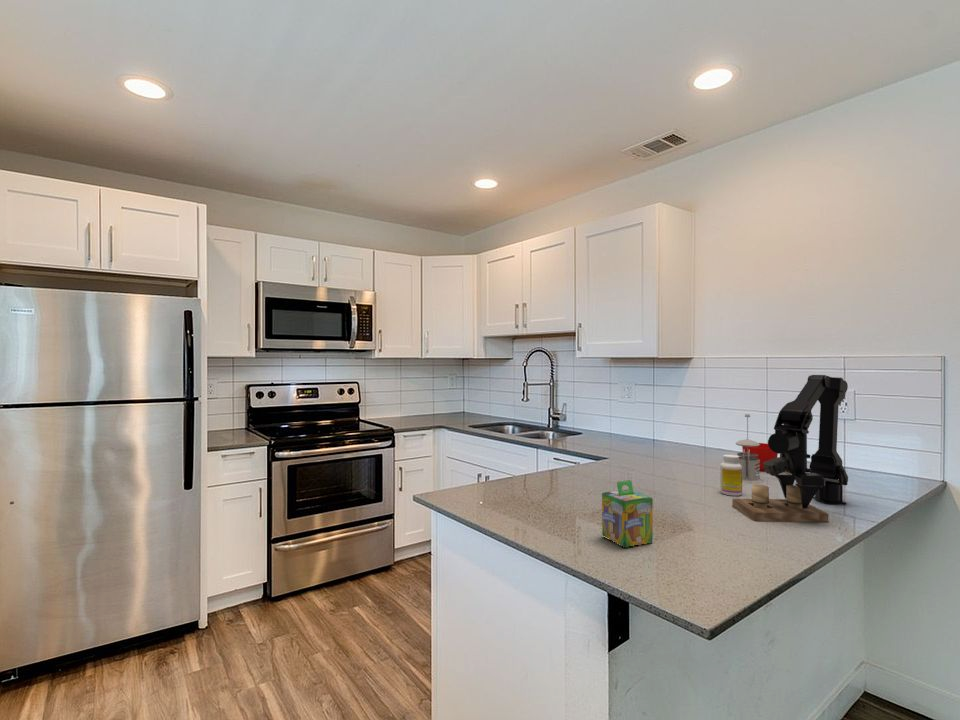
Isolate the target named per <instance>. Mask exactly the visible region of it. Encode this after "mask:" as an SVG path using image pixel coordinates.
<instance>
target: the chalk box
mask: <svg viewBox="0 0 960 720" xmlns="http://www.w3.org/2000/svg"><path fill="white" fill-rule="evenodd" d="M616 483H617V484H616V486H617V490H612V491H611V490H610V491H605V492H602V493H601V497H602V498H601V499H602V500H601V501H602V502H601V504H602V507H601V513H602V514H601V515H602V517H601V518H602V520H601V521H602V522H601V523H602V524H601V525H602V526H601V527H602V528H601V531H602V532H601V533H602V535H603V536H605V537H607V538H609V539H610V540H612V541H614V542H616V543H618V544H620V545H622V546H624V547H628V546H633V545H639V546H642V545H641V544H645V545H648V544H647V543H652V544H653V523H654V522H653V521H654V520H653V516H654V515H653V508H654V507H653V501H654V500H653V498H652V497H651V496H647V495H645V494H643V493H641V492H636V491H634V486H633V482H632V480H631V479H628V480H627V479H626V480H619V481H617V482H616ZM624 486H627V487H628V489H623V487H624ZM602 535H601V536H602ZM612 541H611V542H612ZM614 542H613V543H614ZM616 543H615V544H616ZM618 544H617V545H618ZM620 545H619V546H620ZM622 546H621V547H622ZM624 547H623V548H624ZM633 547H634V546H633ZM628 548H629V547H628Z"/></svg>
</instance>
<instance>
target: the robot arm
mask: <svg viewBox="0 0 960 720" xmlns="http://www.w3.org/2000/svg"><path fill="white" fill-rule="evenodd" d="M847 391H848V382H847V381H846V380H844V378H843V377H838V376H837V377H832V376H829V375H826V374H811V375H808V377H807V382H806V383H805V384H804V386H803V387H802V389H801V390H800V392H799V393H798V395H797V396H796V397H795V399H794V400H793V401H792V400H791V401H789V402H787V403H785V405H784V406H783V407H782V408H781V409H780V410H779V412H778V414H777V417H776V421H775V424H774V427H773V430H774V433H772V434H771V435H770V436H769V437H768V439H767V444H768V446H769V448H770V449H771V450H772V451H773V452H775V453H778V455H779V457H777V458H774V459H771V460H769V461H766V462H763V466H764V468H765V471H764V472H765V473H766V474H768V475H770V476H771V477H775V478H776V479H777V480H778V482H779V484H780V487H781V491H782V493H783V497H784V499H786V486H787V485H796V486H797V487H798V488H799V489H800V494H801V502H802V507H803V508H807V507H808V505H809V504H810V503H811V502H812V500H813V499H815V500H816V501H818V502H821V503H823V504H826V505H828V504H829V505H832V504H833V505H846V504H847V502H846V501H844V500H843V499H844V496H843V494H844V492H843V491H844V490H843V488H844V487H843V486H848V482H849V476H848V474H847V472H846V470H845V468H844V466H843V459H842V458H841V456H840V455H839V453H838V451H837V447H838V423H839V406H840V405H841V403H842V402H843V401H844V400H845V399H846V393H847ZM817 402H819V404H820V405H819V406H820V407H819V409H820V410H819V431H818V448H817V450H816V451H815V453H812V454H808V439H807V438H808V434H809V433H810V431H809V428H810V425H811V424H812V422H813V417H814V415H813V413H812V409H813V408H814V406H815V405H816V404H817ZM808 459H810V464H809V467H808ZM810 505H811V504H810Z"/></svg>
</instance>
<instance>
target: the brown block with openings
mask: <svg viewBox="0 0 960 720" xmlns="http://www.w3.org/2000/svg"><path fill="white" fill-rule="evenodd" d="M731 505H732V506H731V507H732V508H734V509H736V510H737V511H738V512H740V513H742V514H743V515H745V516H746V517H748V518H749V519H751V520H752V521H754V522H783V523H784V522H788V523H789V522H791V523H792V522H794V523H795V522H797V523H799V522H800V523H829V521H830V520H829V519H830V518H829V513H828V512H826V511H823V510H822V509H820V508H818V507H816V506H813V505H812V504H809V505H808V507H807V508H803V507H802V509H797V508H790V507H788V502H786V498H784V499H781V498H779V499H778V498H776V499H775V498H770V487H769V486H767V485H764V484H752V485H751V498H732V503H731Z"/></svg>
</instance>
